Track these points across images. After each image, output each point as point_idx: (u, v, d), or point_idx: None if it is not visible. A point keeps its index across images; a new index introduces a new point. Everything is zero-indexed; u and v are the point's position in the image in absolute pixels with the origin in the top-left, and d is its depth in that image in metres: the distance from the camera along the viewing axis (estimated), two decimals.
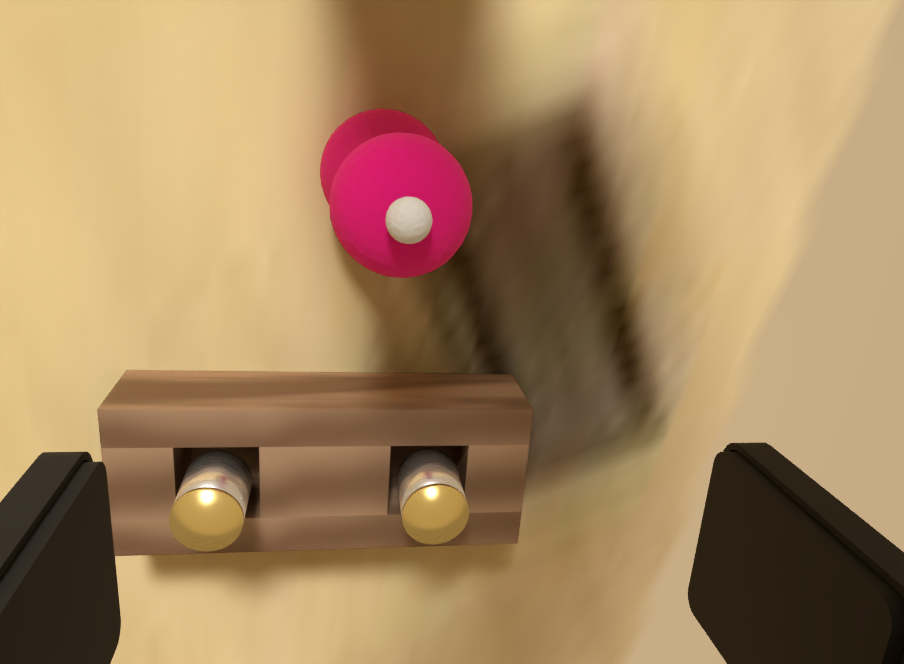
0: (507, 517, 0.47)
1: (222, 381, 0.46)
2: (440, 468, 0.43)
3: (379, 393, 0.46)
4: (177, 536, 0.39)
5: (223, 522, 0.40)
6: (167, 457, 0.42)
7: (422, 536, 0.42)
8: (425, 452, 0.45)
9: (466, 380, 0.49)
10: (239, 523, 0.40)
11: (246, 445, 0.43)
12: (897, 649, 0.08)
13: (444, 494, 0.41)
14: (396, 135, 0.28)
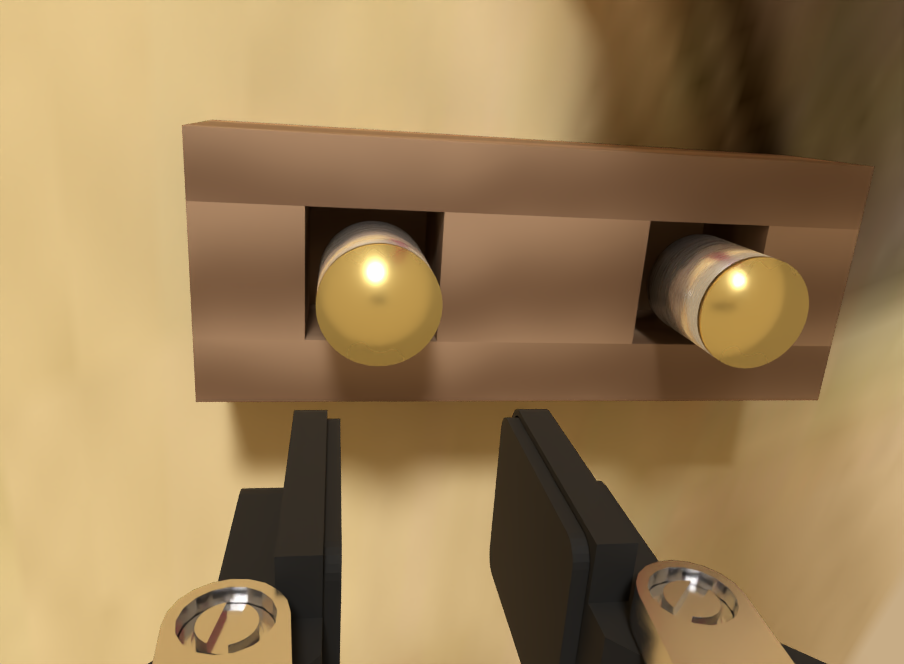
0: (809, 354, 0.30)
1: (367, 131, 0.28)
2: (745, 247, 0.26)
3: (619, 148, 0.28)
4: (328, 334, 0.22)
5: (408, 311, 0.22)
6: (295, 224, 0.25)
7: (729, 351, 0.25)
8: (702, 236, 0.28)
9: (729, 152, 0.32)
10: (435, 314, 0.23)
11: (424, 208, 0.26)
12: (582, 585, 0.08)
13: (774, 274, 0.24)
14: None
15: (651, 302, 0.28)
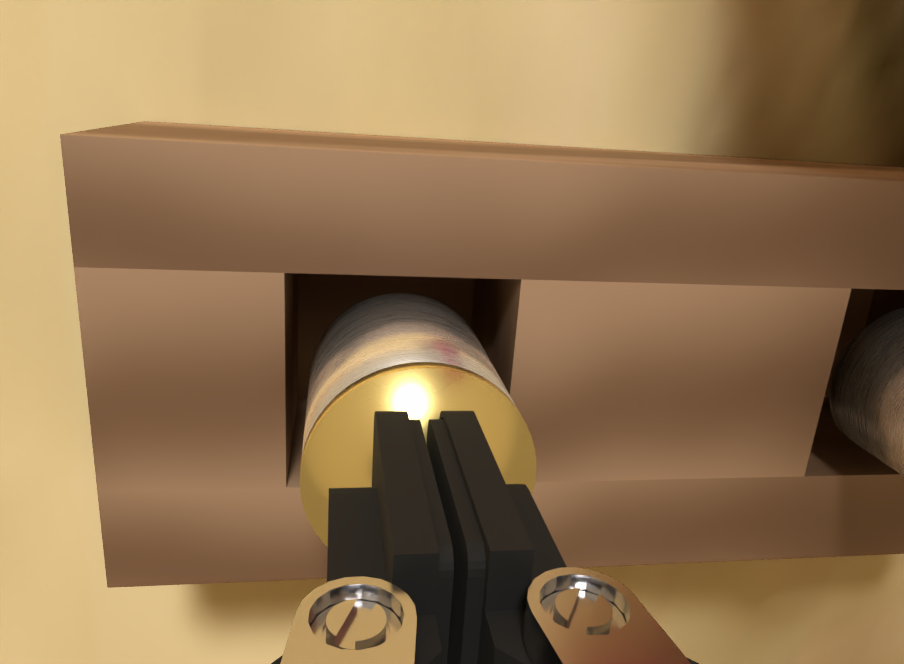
0: None
1: (387, 139, 0.18)
2: None
3: (787, 167, 0.18)
4: (324, 529, 0.12)
5: None
6: (269, 304, 0.15)
7: None
8: None
9: None
10: None
11: (488, 273, 0.15)
12: (479, 592, 0.08)
13: None
14: None
15: (837, 412, 0.18)
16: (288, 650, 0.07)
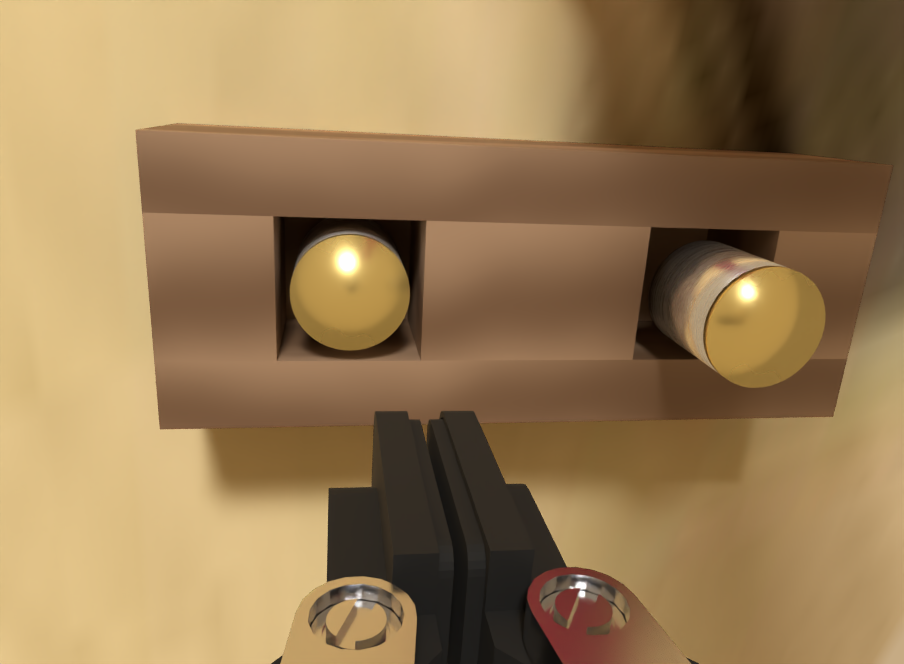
0: (824, 368, 0.28)
1: (344, 133, 0.26)
2: (754, 255, 0.24)
3: (616, 148, 0.26)
4: (302, 320, 0.24)
5: (377, 297, 0.24)
6: (264, 236, 0.23)
7: (739, 370, 0.23)
8: (707, 242, 0.25)
9: (734, 151, 0.29)
10: (403, 300, 0.24)
11: (404, 216, 0.23)
12: (480, 593, 0.08)
13: (788, 285, 0.22)
14: None
15: (653, 314, 0.26)
16: (288, 650, 0.07)
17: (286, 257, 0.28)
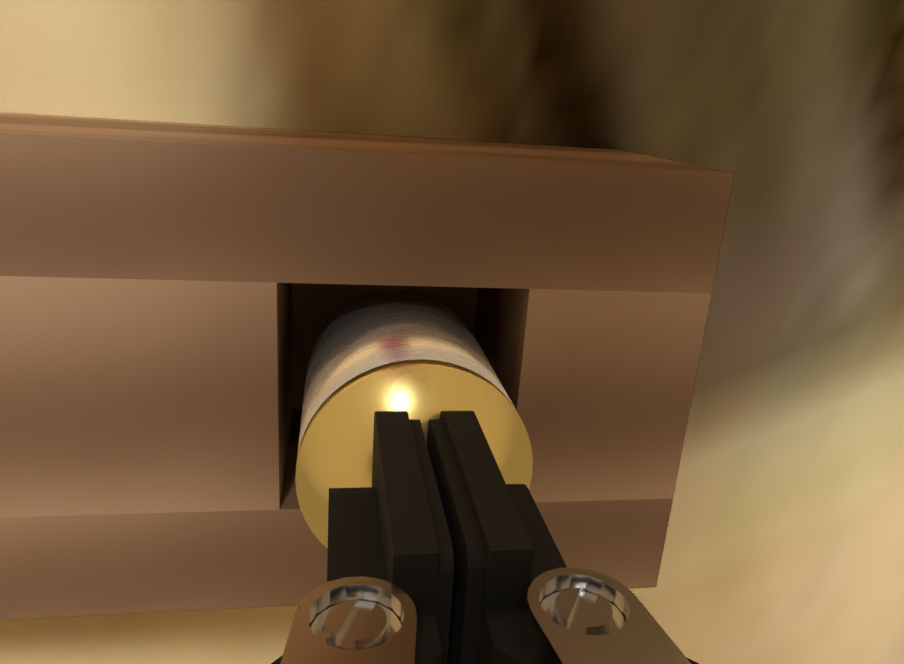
0: (634, 514, 0.17)
1: None
2: (433, 328, 0.13)
3: (252, 137, 0.15)
4: None
5: None
6: None
7: None
8: (390, 296, 0.15)
9: (509, 145, 0.18)
10: None
11: None
12: (479, 593, 0.08)
13: (446, 398, 0.11)
14: None
15: None
16: (288, 650, 0.07)
17: None
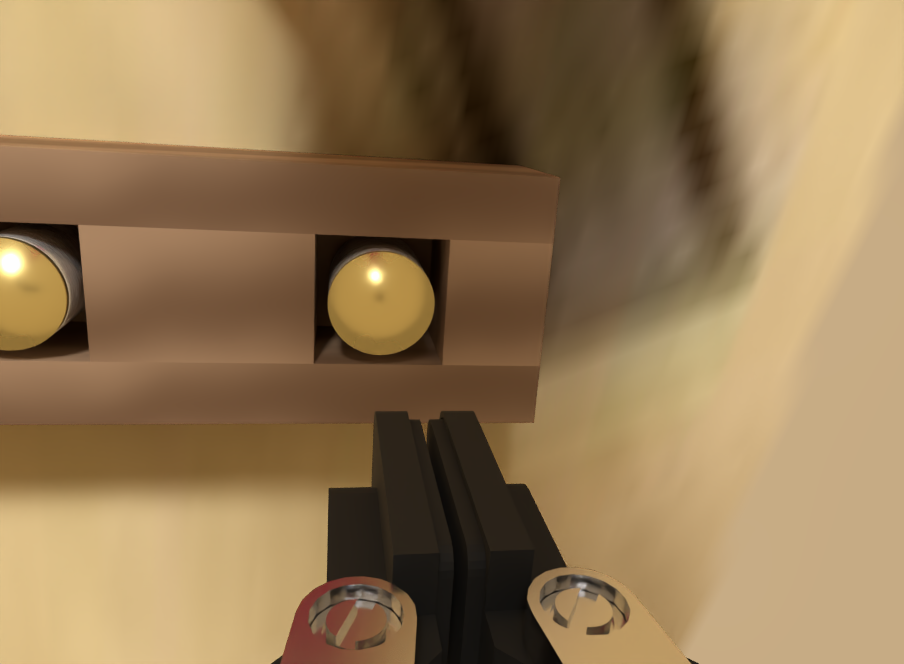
0: (517, 375, 0.28)
1: (35, 139, 0.27)
2: (391, 243, 0.28)
3: (299, 158, 0.27)
4: None
5: (32, 299, 0.24)
6: None
7: (362, 339, 0.27)
8: None
9: (448, 163, 0.30)
10: (59, 302, 0.25)
11: (54, 220, 0.24)
12: (480, 593, 0.08)
13: (394, 267, 0.26)
14: None
15: None
16: (288, 650, 0.07)
17: None
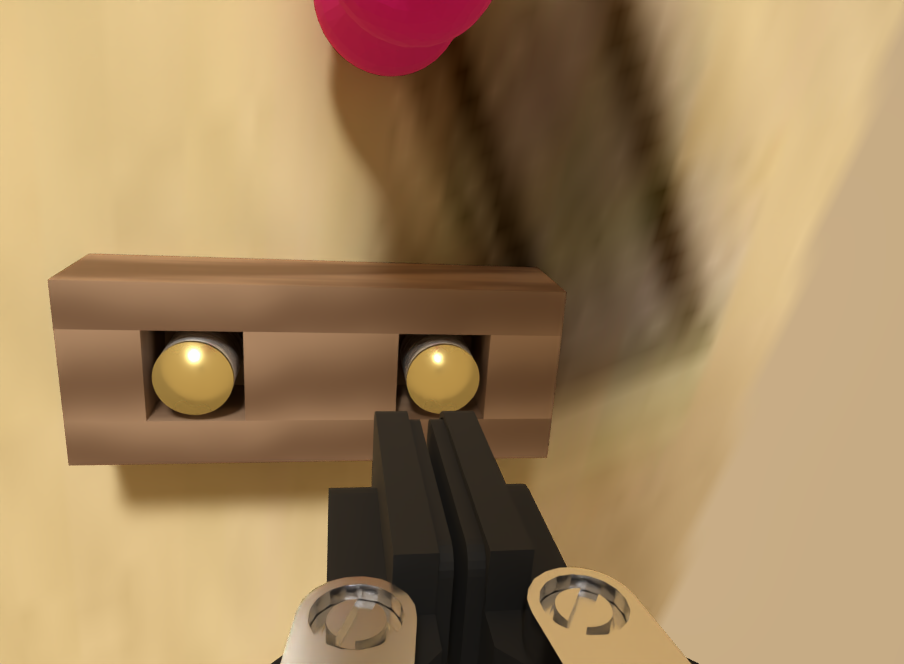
0: (535, 424, 0.40)
1: (200, 264, 0.39)
2: None
3: (385, 276, 0.39)
4: (161, 396, 0.36)
5: (211, 381, 0.36)
6: (134, 342, 0.35)
7: (429, 403, 0.39)
8: None
9: (485, 270, 0.42)
10: (229, 382, 0.36)
11: (227, 329, 0.36)
12: (480, 593, 0.08)
13: (452, 355, 0.38)
14: None
15: None
16: (289, 650, 0.07)
17: (166, 343, 0.41)
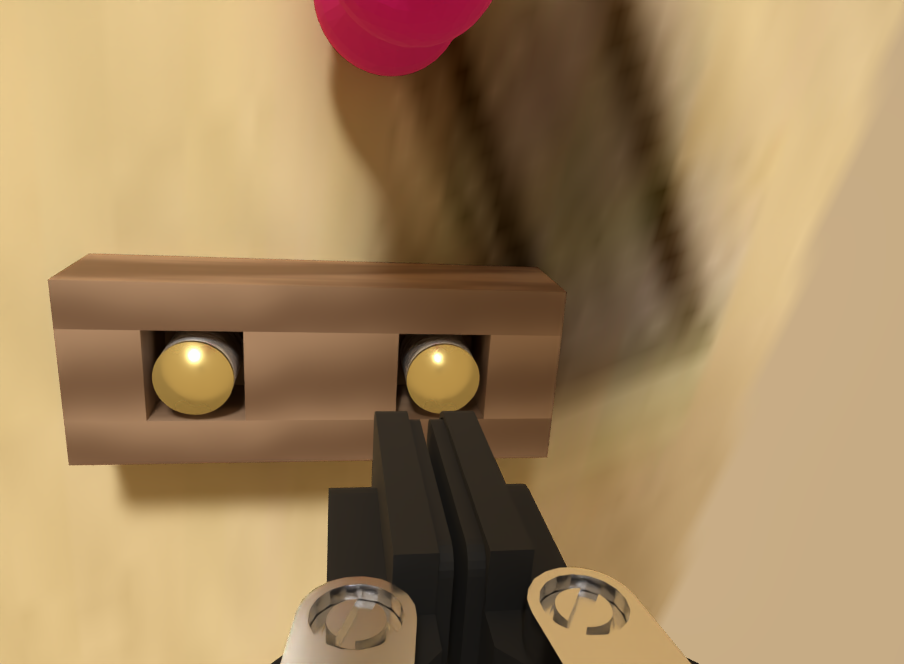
0: (535, 424, 0.40)
1: (201, 263, 0.39)
2: None
3: (385, 276, 0.39)
4: (161, 396, 0.36)
5: (211, 381, 0.36)
6: (134, 342, 0.35)
7: (429, 403, 0.39)
8: None
9: (485, 270, 0.42)
10: (229, 382, 0.36)
11: (227, 329, 0.36)
12: (480, 593, 0.08)
13: (452, 355, 0.38)
14: None
15: None
16: (288, 650, 0.07)
17: (166, 343, 0.41)
